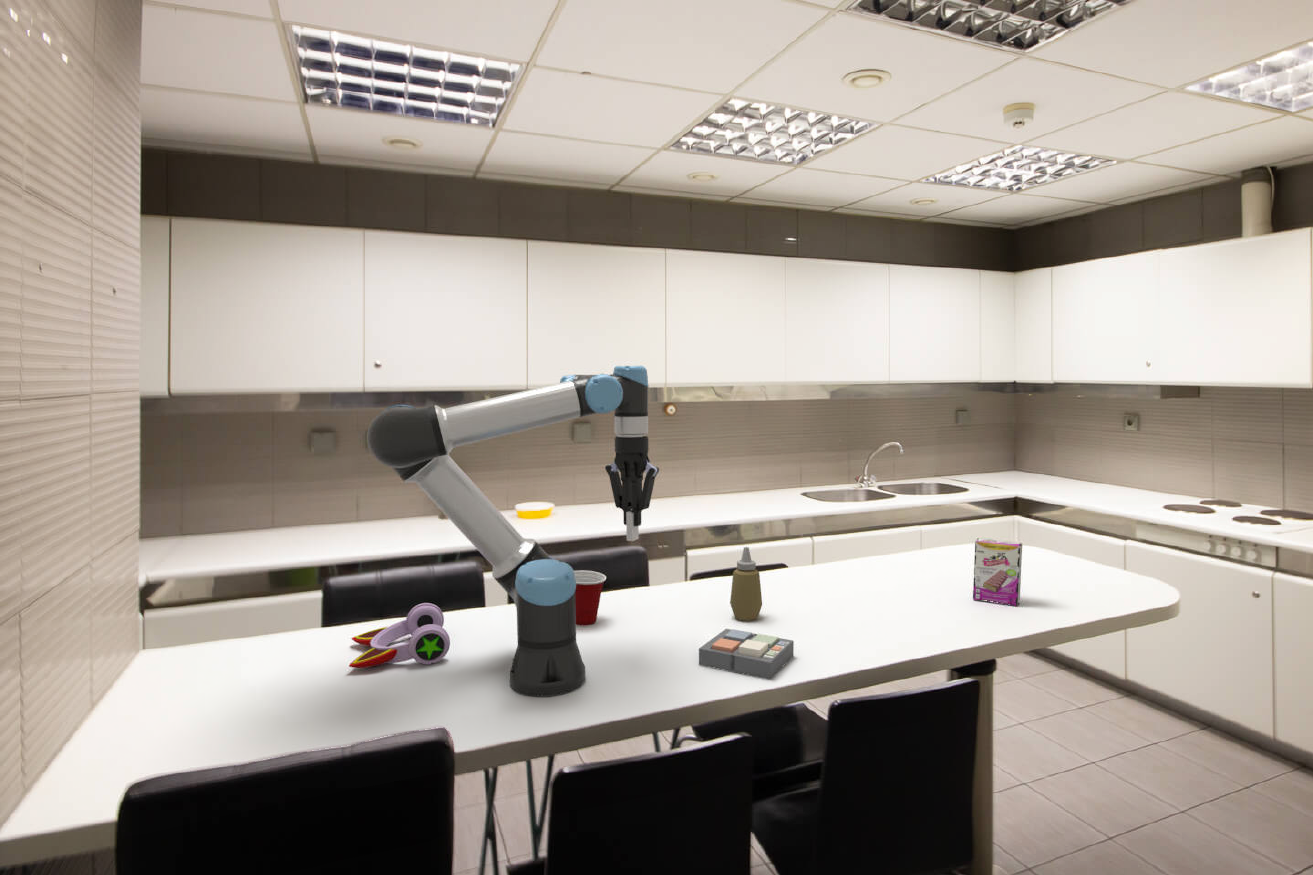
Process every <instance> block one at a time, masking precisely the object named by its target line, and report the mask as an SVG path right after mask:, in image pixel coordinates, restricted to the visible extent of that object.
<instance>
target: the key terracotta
mask: <svg viewBox="0 0 1313 875" xmlns="http://www.w3.org/2000/svg"><path fill="white" fill-rule="evenodd" d="M739 646H740V642H739V641H734V640H728V639H723V638H720V639H719V640H718V641H716V642H715V643H714V644H712V649H715V650H721V651H726V652H731V653H733V652H734V651H735V650H737V649H738V648H739Z"/></svg>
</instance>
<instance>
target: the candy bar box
mask: <svg viewBox="0 0 1313 875" xmlns="http://www.w3.org/2000/svg"><path fill="white" fill-rule="evenodd" d="M974 542H975V543H974V563H973V564H974V567H973V585H972V586H973V587H972V588H973V590H972V600H973V599H975V600H974V601H977V600H987V601H993V602H998V603H1003V604H1002V605H1004V604H1010V605H1015V606H1014V607H1018V606H1019V604H1020V602H1021V583H1022V582H1021V581H1022V560H1023V558H1022V557H1023V543H1022V542H1019V541H1007V540H999V539H998V540H997V539H992V538H990V539H989V538H983V537H979V538H977V539H976V540H975V541H974ZM1018 603H1019V604H1018ZM1010 605H1009V606H1010ZM1017 605H1018V606H1017Z"/></svg>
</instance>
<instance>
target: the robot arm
mask: <svg viewBox="0 0 1313 875" xmlns="http://www.w3.org/2000/svg"><path fill="white" fill-rule="evenodd" d="M648 378H649V377H648V370H647V368H646V367H645V366H643V365H616V366H614V367H613V372H612V374H605V373H599V374H570V375H569V374H567V375H563V376H562V377H561V378H560V381H559V383H554V384H551V385H546V386H541V387H536V388H532V389H528V390H523V391H517V392H514V393H510V394H509V393H508V394H504V395H500V396H496V397H490V398H486V399H482V400H478V401H474V402H468V403H463V404H458V405H455V406H454V405H453V406H451V407H445V408H442V407H440V406H439V405H436V404H435V405H430V406H426V407H418V408H417V407H413V406H411V405H406V404H396V405H393V406H392V405H391V406H390V407H387V408H386V409H384V410H382V411H380V413H378V414H377V416H375V417H374V419H373V420H372V421H371V423H370V424H369V427H368V430H367V435H366V439H367V440H366V441H367V443H366V444H367V446H368V449H369V451H370V453H371V454H372V456H373V458H375V459H376V460H377V461H378V462H379V463H381V464H382V465H384V466H387V467H390V468H391V469H392V470H393V471H394V473H395V474H397V476H398V477H399V478H400V479H401V480H402V481H403V482H404V483H412V484H413V483H414V484H417V485H418V487H420V489H421V490H422V491H423V492H424V493H425V494H426V495H427V496H428V498H429V499H430V500H431V501H432V502H433V503H434V504H435V505H436V506H437V507H438V509H440V511H442V512H443V514H444V515H445V516H446V517H447V518H448V520H450V522H452V524H454V526H455V527H456V528H457V529H458V530H459V531H460V532H461V533H462V535H463V536H464V537H466V539H467V540H468V541H469V542H470V543H471V544H472V545H473V546H474V547H475V549H477V550H478V552H479V554H481V555H482V556H483V557H484V558H485V559H486V560H487V561H488V562H489V563H490V564H491V565H492V575H491V576H492V578H493V579H494V580H495V581H496V582H497V583H498V584H499V586H501V587H502V588H503V590H505V592H506V593H507V594H508V595H509V596H510V597H511V598H512V599H513V602H514V605H515V608H516V628H517V629H516V630H517V632H516V633H517V647H516V650H515V653H514V656H513V660H512V663H511V667H510V670H509V675H508V676H509V686H510V688H511V689H512V690H513V691H515V692H516V693H518V694H521V695H525V696H532V697H550V696H551V697H552V696H558V695H563V694H568V693H570V692H573V691H575V690H577V689H578V688H580V687H581V686H582V685H584V683H585V682H586V677H587V676H586V665H585V664H584V662H583V660H582V659H583V658H582V655H581V652H580V650H579V646H578V643H577V625H576V599H575V589H576V580H575V574H574V571H575V570H574V569H573V567H572V566H571V565H570V564H569V563H566V562H565V561H560V560H558V559H554V558H553V557H552V556H550V555H549V554H548V553H547V552H546V551H545V550H544V549H543V548H542V546H540V544H539V543H538V542H537V541H536V540H535V539H533V538H524V537H523V536H522V535H521V534H520V533H519V532H518V531H517V530H516V528H514V526H513V525H512V524H511V523H510V521H508V519H507V518H506V517H505V516H504V515H503V514H502V512H500V511H499V510H498V509H497V507H496V506H495V505H494V504H493V503H492V502H491V501H490V499H489V498H488V497H487V496H486V494H484V492H482V490H481V489H480V488H479V487H478V486H477V485H476V483H474V482H473V480H472V479H471V478H470V477H469V476H468V475H467V474H466V473H465V471H463V469H462V468H461V467H460V466H459V465H458V464H457V463H456V461H455V460H454V459H453V458H452V457H451V456H450V453H451V451H452V450H453V449H454V448H457V447H461V446H466V445H470V444H474V443H478V442H482V441H486V440H491V439H494V438H498V437H503V436H507V435H511V434H515V433H520V432H524V431H527V430H532V429H535V428H537V429H538V428H540V427H544V426H548V425H553V424H557V423H562V422H565V421H569V420H570V421H571V420H574V419H577V418H584V417H586V416H587V417H588V416H591V415H596V414H607V413H610V412H613V411H614V413H613V414H614V426H613V427H614V431H613V432H614V434H615V438H614V451H615V457H614V459H613V460H614V462H612V463H610V464H609V465H605V468H604V469H605V471H606V473H607V474H608V478H609V481H610V482H609V483H610V486H611V491H612V496H613V500H614V505H615V507H616V509H621V510H622V512H623V524H624V526H626V541H628V542H634V541H637V540H639V538H640V537H639V536H640V535H639V527H640V526H641V525H642V511H643V510H647V509H649V507H650V504H651V499H652V494H653V489H654V484H655V481H656V477H657V475H658V473H659V472H660V469H659V468H660V467H658V466H654V465H653V464H651V463H650V459H649V456H648V455H649V450H650V449H649V437H648V435H647V434H648V433H649V380H648ZM619 472H620V473H619ZM644 474H645V477H644ZM643 479H644V481H643Z"/></svg>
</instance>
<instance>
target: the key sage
mask: <svg viewBox="0 0 1313 875" xmlns="http://www.w3.org/2000/svg"><path fill="white" fill-rule="evenodd" d="M757 634H758V635H757V636H755V637H754V638H753V639H752V640H753V641H759V642H764V643H768V647H769V648H772V647H773V646H775V645H776V644H777V643H778V638H779V637H778V636H773V635H767V634H762V633H757Z"/></svg>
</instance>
